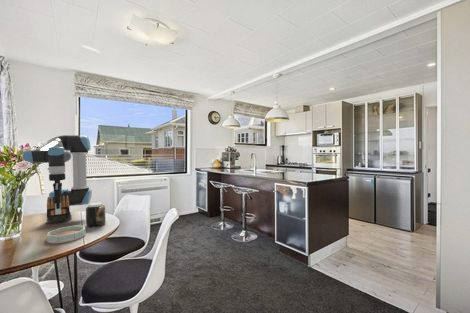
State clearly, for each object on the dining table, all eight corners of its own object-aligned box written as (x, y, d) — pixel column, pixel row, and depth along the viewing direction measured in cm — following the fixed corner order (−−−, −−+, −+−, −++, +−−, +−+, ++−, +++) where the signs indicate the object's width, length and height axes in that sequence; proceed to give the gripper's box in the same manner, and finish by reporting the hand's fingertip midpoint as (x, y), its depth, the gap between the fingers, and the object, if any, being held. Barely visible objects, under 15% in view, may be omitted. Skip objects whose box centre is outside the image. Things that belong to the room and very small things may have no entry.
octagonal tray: (48, 235, 139) (48, 229, 139) (85, 229, 150) (85, 223, 150) (44, 246, 124) (44, 239, 124) (86, 238, 135) (86, 231, 135)
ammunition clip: (46, 218, 128) (45, 197, 128) (47, 217, 130) (46, 196, 129) (69, 214, 134) (69, 194, 134) (70, 214, 136) (69, 194, 135)
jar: (84, 228, 152) (83, 206, 152) (87, 223, 163) (87, 203, 163) (104, 226, 157) (104, 204, 157) (106, 221, 168) (106, 201, 168)
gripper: (50, 172, 135) (51, 211, 136) (47, 175, 123) (48, 217, 124) (66, 171, 139) (67, 209, 140) (64, 174, 127) (65, 215, 128)
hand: (58, 213), depth 132 cm, fingers closed on ammunition clip, 2 cm apart
